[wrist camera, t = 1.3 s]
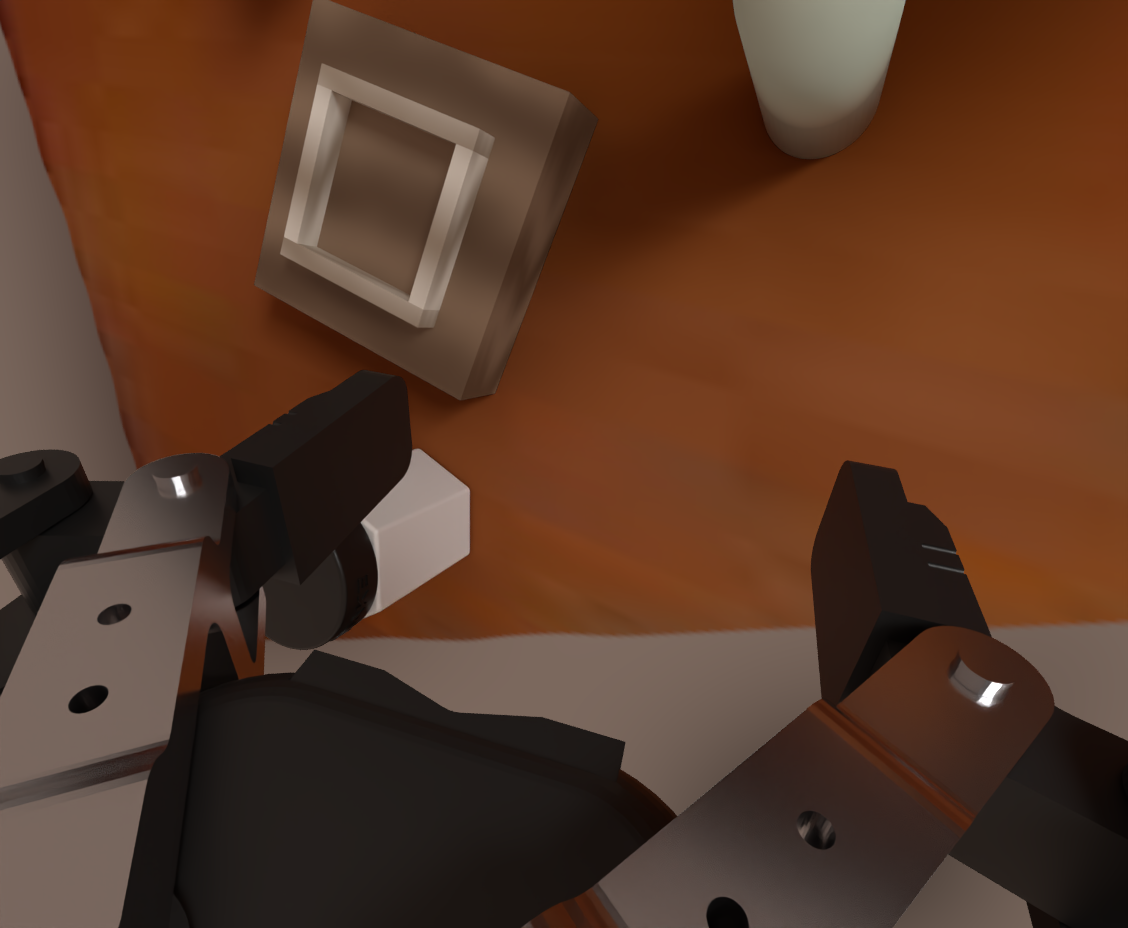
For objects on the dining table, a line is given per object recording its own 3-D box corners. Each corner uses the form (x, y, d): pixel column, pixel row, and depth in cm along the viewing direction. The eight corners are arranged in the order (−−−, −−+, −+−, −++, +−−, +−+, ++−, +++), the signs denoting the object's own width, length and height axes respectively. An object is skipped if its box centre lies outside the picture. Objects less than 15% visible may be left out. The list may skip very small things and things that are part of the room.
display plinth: (365, 28, 36) (291, -20, 31) (598, 119, 32) (557, 80, 27) (303, 288, 41) (232, 283, 36) (494, 393, 37) (445, 403, 32)
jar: (401, 585, 43) (262, 671, 33) (351, 482, 43) (195, 534, 32) (498, 544, 40) (377, 626, 29) (444, 431, 39) (301, 471, 29)
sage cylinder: (797, 23, 28) (783, -147, 18) (905, 57, 26) (956, -106, 16) (743, 138, 29) (705, 41, 19) (843, 174, 28) (855, 92, 18)
